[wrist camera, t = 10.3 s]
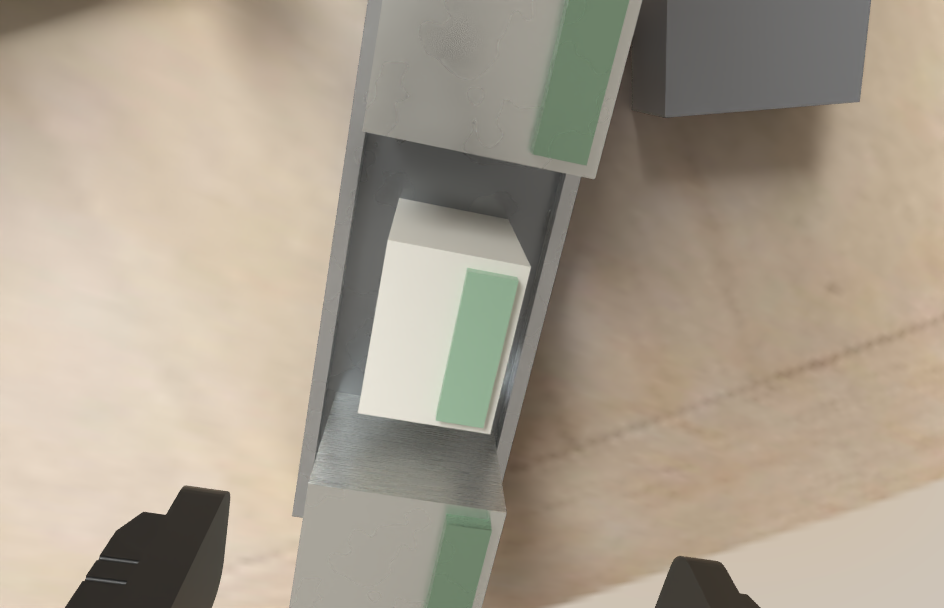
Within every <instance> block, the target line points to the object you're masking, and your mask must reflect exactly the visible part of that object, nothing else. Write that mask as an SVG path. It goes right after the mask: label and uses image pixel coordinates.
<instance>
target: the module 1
mask: <svg viewBox="0 0 944 608" xmlns="http://www.w3.org/2000/svg"><path fill="white" fill-rule="evenodd" d="M530 269H531V266H530V264H529V262H528V260H527V257H526V255H525V253H524V251H523V249H522V247H521V245H520V243H519V241H518V239H517V236H516V234H515V232H514V230H513V228H512V226H511V224H510V222H509V220H508V219H504V218H499V217H494V216H489V215H483V214H478V213H473V212H468V211H463V210H458V209H453V208H448V207H443V206H438V205H433V204H428V203H422V202H417V201H412V200H407V199H402V198H399V201H398V204H397V208H396V212H395V215H394V219H393V223H392V226H391V230H390V234H389V237H388V241H387V247H386V253H385V259H384V264H383V270H382V276H381V282H380V287H379V293H378V299H377V305H376V311H375V316H374V322H373V328H372V334H371V339H370V345H369V351H368V357H367V363H366V368H365V374H364V380H363V386H362V391H361V397H360V403H359V409H358V413H360V414H366V415H372V416H378V417H385V418H391V419H397V420H403V421H410V422H416V423H422V424H429V425H435V426H441V427H447V428H454V429H460V430H466V431H472V432H479V433H485V434H490V433H491V429H492V424H493V420H494V416H495V412H496V408H497V404H498V400H499V396H500V392H501V388H502V384H503V380H504V375H505V371H506V367H507V363H508V359H509V355H510V351H511V347H512V343H513V339H514V335H515V331H516V326H517V322H518V318H519V314H520V310H521V306H522V302H523V298H524V294H525V290H526V286H527V282H528V277H529V273H530Z"/></svg>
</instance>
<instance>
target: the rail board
mask: <svg viewBox="0 0 944 608" xmlns="http://www.w3.org/2000/svg"><path fill="white" fill-rule="evenodd" d="M641 3H642V0H368V4H367V11H366V18H365V24H364V31H363V38H362V45H361V52H360V58H359V65H358V72H357V79H356V86H355V92H354V99H353V106H352V113H351V120H350V126H349V133H348V140H347V147H346V154H345V160H344V167H343V174H342V181H341V187H340V194H339V201H338V208H337V215H336V221H335V228H334V235H333V242H332V249H331V255H330V262H329V269H328V276H327V283H326V289H325V296H324V303H323V310H322V317H321V323H320V330H319V337H318V344H317V351H316V357H315V364H314V371H313V378H312V385H311V391H310V398H309V405H308V412H307V419H306V425H305V432H304V439H303V446H302V453H301V459H300V466H299V473H298V480H297V486H296V493H295V500H294V507H293V514H292V516H294V517H301V518H303V521H302V528H301V534H300V541H299V548H298V554H297V561H296V567H295V574H294V580H293V587H292V593H291V600H290V606H289V608H482V604H483V600H484V597H485V593H486V589H487V585H488V581H489V578H490V574H491V570H492V566H493V563H494V559H495V555H496V551H497V547H498V544H499V540H500V536H501V532H502V529H503V525H504V521H505V517H506V513H507V512H506V505H505V499H504V493H503V486H502V482H503V478H504V474H505V470H506V466H507V462H508V458H509V455H510V451H511V447H512V443H513V439H514V435H515V431H516V427H517V424H518V420H519V416H520V412H521V408H522V404H523V400H524V396H525V393H526V389H527V385H528V381H529V377H530V373H531V369H532V365H533V362H534V358H535V354H536V350H537V346H538V342H539V338H540V334H541V331H542V327H543V323H544V319H545V315H546V311H547V307H548V303H549V300H550V296H551V292H552V288H553V284H554V280H555V276H556V272H557V269H558V265H559V261H560V257H561V253H562V249H563V245H564V241H565V237H566V234H567V230H568V226H569V222H570V218H571V214H572V210H573V206H574V203H575V199H576V195H577V191H578V187H579V183H580V179H581V177H585V178H590V179H595V177H596V173H597V170H598V166H599V162H600V158H601V155H602V151H603V147H604V143H605V139H606V136H607V132H608V128H609V124H610V121H611V117H612V113H613V109H614V105H615V102H616V98H617V94H618V90H619V87H620V83H621V79H622V75H623V71H624V68H625V64H626V60H627V56H628V53H629V49H630V45H631V41H632V37H633V34H634V30H635V26H636V22H637V19H638V15H639V11H640V7H641ZM399 198H402V199H407V200H412V201H417V202H422V203H428V204H433V205H438V206H443V207H448V208H453V209H458V210H463V211H468V212H473V213H478V214H483V215H489V216H494V217H499V218H504V219H508V220H509V222H510V224H511V226H512V228H513V230H514V232H515V234H516V236H517V239H518V241H519V243H520V245H521V247H522V249H523V251H524V253H525V255H526V257H527V260H528V262H529V264H530V266H531V269H530V273H529V277H528V282H527V286H526V290H525V294H524V298H523V302H522V306H521V310H520V314H519V318H518V322H517V326H516V331H515V335H514V339H513V343H512V347H511V351H510V355H509V359H508V363H507V367H506V371H505V375H504V380H503V384H502V388H501V392H500V396H499V400H498V404H497V408H496V412H495V416H494V420H493V424H492V429H491V433H490V434H485V433H479V432H472V431H466V430H460V429H454V428H447V427H441V426H435V425H429V424H422V423H416V422H410V421H403V420H397V419H391V418H385V417H378V416H372V415H366V414H360V413H358V409H359V403H360V397H361V391H362V386H363V380H364V374H365V368H366V363H367V357H368V351H369V345H370V339H371V334H372V328H373V322H374V316H375V311H376V305H377V299H378V293H379V287H380V282H381V276H382V270H383V264H384V259H385V253H386V247H387V241H388V237H389V234H390V230H391V226H392V223H393V219H394V215H395V212H396V208H397V204H398V201H399Z"/></svg>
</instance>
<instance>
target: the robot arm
mask: <svg viewBox="0 0 944 608" xmlns="http://www.w3.org/2000/svg"><path fill="white" fill-rule="evenodd" d="M229 506H230V493H229V492H228V491H221V490H214V489H207V488H200V487H193V486H184V487H183V488H182V489H181V490H180V492H179V493H178V495H177V497H176V499H175V500H174V502H173V504H172V505H171V507H170V509H169V511H168V512H167V514H166V515H162V514H155V513H148V512H142V513H141V514H140V515H138V516H137V517H135V518H134V519H132V520H131V521H130V522H128V523H127V524H125V525H124V526H123V527H121V528H120V529H118V530H117V531H116V532H115V533H114V535H113V536H112V538H111V539H110V541H109V542H108V544H107V545H106V547H105V548H104V550H103V551H102V553H101V554H100V557H99V560H96V562H95V563H94V565H93V566H92V568H91V569H90V571H89V572H88V574H87V575H86V579H85V581H82V583H81V584H80V586H79V587H78V589H77V590H76V592H75V593H74V595H73V596H72V598H71V599H70V601H69V602H68V604H67V605H66V607H65V608H212V606H213V603H214V600H215V597H216V594H217V591H218V587H219V583H220V579H221V575H222V569H223V563H224V553H225V544H226V535H227V525H228V516H229ZM655 608H760V607H759V606H758V605H757V604H756V603H755V602H754V601H753V600H752V599H751V598H750V597H749V596H748V595H746V594H740V593H739V591H738V590H737V588H736V586H735V585H734V583H733V581H732V579H731V577H730V576H729V574H728V572H727V570H726V568H725V567H724V565H723V564H722V563H720V562H718V561H713V560H705V559H698V558H691V557H684V556H678V557H676V558H675V559H674V560H673V562H672V564H671V566H670V569H669V572H668V574H667V577H666V580H665V582H664V585H663V588H662V590H661V593H660V596H659V598H658V601H657V604H656V606H655Z"/></svg>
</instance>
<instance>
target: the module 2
mask: <svg viewBox="0 0 944 608" xmlns="http://www.w3.org/2000/svg"><path fill="white" fill-rule="evenodd" d="M870 4H871V0H642V3H641V7H640V11H639V15H638V19H637V22H636V26H635V30H634V34H633V37H632V110H634V111H638V112H642V113H647V114H651V115H655V116H660V117H664V118H668V117H680V116H692V115H705V114H717V113H729V112H742V111H754V110H766V109H779V108H791V107H803V106H816V105H828V104H840V103H853V102H860V95H861V86H862V77H863V68H864V59H865V49H866V40H867V31H868V22H869V13H870Z"/></svg>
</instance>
